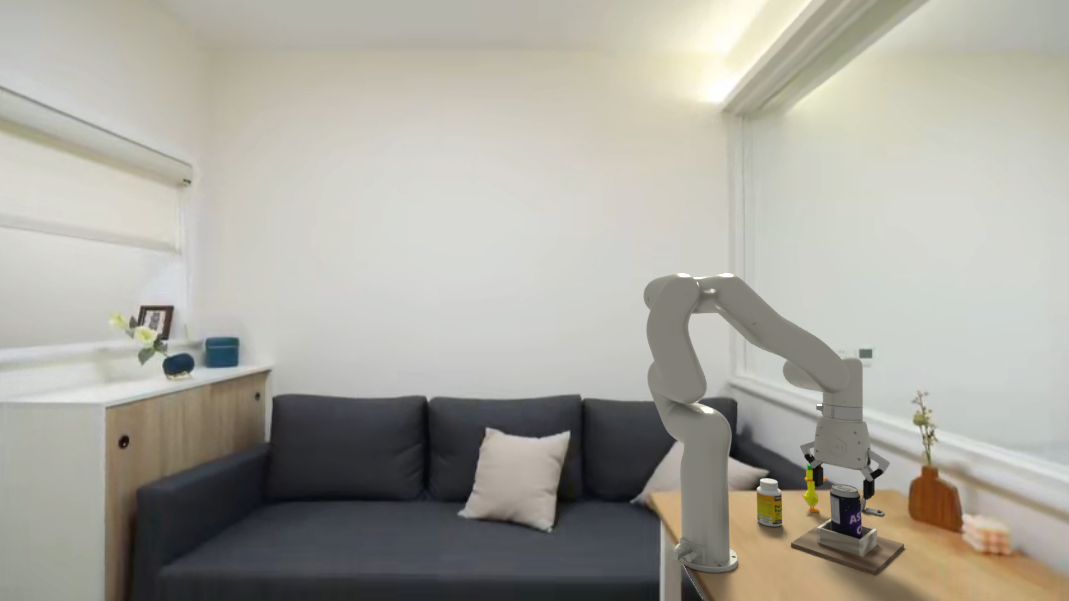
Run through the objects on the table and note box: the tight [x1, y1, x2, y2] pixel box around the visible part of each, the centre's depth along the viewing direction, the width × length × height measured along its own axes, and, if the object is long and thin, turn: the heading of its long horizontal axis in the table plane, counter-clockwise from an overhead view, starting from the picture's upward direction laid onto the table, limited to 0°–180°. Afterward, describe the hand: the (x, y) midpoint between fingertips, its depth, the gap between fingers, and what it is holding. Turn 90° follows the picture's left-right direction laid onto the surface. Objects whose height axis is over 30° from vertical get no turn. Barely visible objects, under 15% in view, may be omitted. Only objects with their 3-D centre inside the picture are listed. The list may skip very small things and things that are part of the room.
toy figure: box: [801, 463, 828, 514], centre depth 130 cm, size 7×4×12 cm, turn 94°
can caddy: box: [790, 518, 905, 576], centre depth 109 cm, size 18×16×4 cm
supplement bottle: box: [756, 477, 783, 528], centre depth 123 cm, size 6×6×10 cm
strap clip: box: [861, 494, 885, 518], centre depth 130 cm, size 8×3×4 cm, turn 42°
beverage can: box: [829, 483, 863, 539], centre depth 109 cm, size 6×6×12 cm
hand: (842, 491), depth 110 cm, fingers open, 9 cm apart
